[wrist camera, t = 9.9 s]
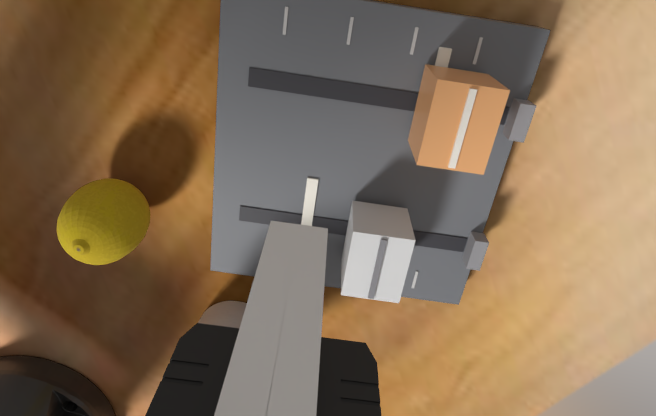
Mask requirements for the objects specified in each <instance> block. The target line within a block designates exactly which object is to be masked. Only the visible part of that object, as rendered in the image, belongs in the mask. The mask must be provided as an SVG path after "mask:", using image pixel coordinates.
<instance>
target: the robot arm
mask: <svg viewBox="0 0 656 416" xmlns="http://www.w3.org/2000/svg"><path fill="white" fill-rule="evenodd" d="M327 237H328V228H322V227H314V226H307V225H300V224H292V223H285V222H278V221H271V222H270V226H269V229H268V232H267V236H266V239H265V243H264V246H263V250H262V253H261V257H260V260H259V263H258V267H257V270H256V274H255V277H254V281H253V284H252V287H251V291H250V294H249V298H248V301H247V305H246V308H245V311H244V315H243V318H242V322H241V325H240V328H233V327H225V326H218V325H210V324H202V323H197V324H196V325H194V326H193V327H192V328H191V329H190V330H189V331H188V332H187V333H186V334H185V335H183V336H182V337H181V338H180V339H179V341H178V344H177V346H176V348H175V350H174V353H173V355H172V357H171V359H170V364H168V366H167V368H166V371H165V373H164V375H163V379H162V381H161V382H160V384H159V386H158V389H157V391H156V393H155V395H154V398H153V400H152V402H151V404H150V406H149V409H148V411H147V413H146V415H145V416H381V407H380V395H379V388H378V385H379V383H378V370H377V362H376V360H375V358H374V357H373V355H372V353H371V352H370V350H369V348H368V346H367V345H366V343H362V342H354V341H346V340H338V339H331V338H323V337H321V332H322V316H323V300H324V284H325V268H326V253H327ZM0 416H115V414H114V411H113V409H112V407H111V405H110V403H109V401H108V400H107V398H106V397H105V396H104V394H103V393H102V392H101V391H100V390H99V389H98V388H97V387H96V386H95V385H94V384H93V383H92V382H90V381H89V380H88V379H86V378H85V377H84V376H82V375H80V374H79V373H77V372H75V371H74V370H72V369H70V368H68V367H65V366H63V365H61V364H58V363H55V362H52V361H49V360H45V359H41V358H36V357H29V356H5V357H0Z"/></svg>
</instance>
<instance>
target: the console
mask: <svg viewBox="0 0 656 416" xmlns="http://www.w3.org/2000/svg"><path fill="white" fill-rule="evenodd" d="M549 33H550V30H548V29H544V28H541V27H537V26H531V25H524V24H518V23H512V22H506V21H499V20H493V19H487V18H480V17H474V16H468V15H462V14H455V13H449V12H443V11H436V10H430V9H424V8H417V7H411V6H405V5H399V4H392V3H386V2H380V1H373V0H221V6H220V32H219V58H218V85H217V111H216V137H215V164H214V190H213V216H212V243H211V269H210V270H211V271H219V272H226V273H233V274H241V275H248V276H255V274H256V270H257V267H258V263H259V260H260V257H261V253H262V250H263V246H264V243H265V239H266V236H267V232H268V229H269V226H270V222H271V221H278V222H285V223H292V224H300V225H307V226H314V227H322V228H328V237H327V253H326V268H325V284H324V286H328V287H335V288H341V259H342V253H343V248H344V243H345V237H346V232H347V226H348V221H349V216H350V210H351V205H352V201H359V202H366V203H373V204H380V205H387V206H394V207H401V208H407V209H408V213H409V217H410V221H411V224H412V228H413V232H414V236H415V240H416V241H415V245H414V248H413V252H412V256H411V260H410V264H409V267H408V271H407V275H406V279H405V283H404V286H403V290H402V294H401V297H408V298H415V299H422V300H429V301H437V302H444V303H451V304H458V305H459V302H460V299H461V296H462V293H463V290H464V287H465V284H466V281H467V278H468V275H469V272H470V269H472V270H479V271H480V268H481V265H482V262H483V259H484V256H485V253H486V250H487V247H488V244H489V242H488V240H487V238H486V236H485V234H484V233H483V231H484V228H485V225H486V222H487V219H488V216H489V213H490V210H491V207H492V204H493V201H494V198H495V195H496V192H497V189H498V186H499V183H500V180H501V177H502V174H503V171H504V168H505V165H506V162H507V159H508V156H509V153H510V150H511V147H512V144H513V141H517V142H524V140H525V137H526V134H527V132H528V129H529V126H530V123H531V120H532V117H533V114H534V111H535V108H536V105H534V104H533V103H532V102H530V101H529V100H527V99H528V96H529V93H530V90H531V87H532V84H533V81H534V78H535V75H536V72H537V69H538V66H539V63H540V60H541V57H542V54H543V51H544V48H545V45H546V42H547V39H548V36H549ZM425 64H427V65H434V66H440V67H447V68H453V69H460V70H466V71H473V72H479V73H486V74H489V75H490V76H492V77H493V78H494V79H496V80H497V81H498V82H500V83H501V84H502V85H504V86H505V87H506V88H508V89H509V90H510V93H509V96H508V99H507V102H506V106H505V109H504V112H503V115H502V118H501V121H500V125H499V128H498V131H497V134H496V137H495V140H494V144H493V147H492V150H491V153H490V156H489V159H488V163H487V166H486V169H485V172H484V175H481V174H474V173H467V172H461V171H454V170H447V169H440V168H433V167H427V166H420V165H416V162H415V159H414V156H413V153H412V151H411V148H410V145H409V142H408V137H409V133H410V128H411V124H412V120H413V115H414V111H415V107H416V102H417V98H418V93H419V89H420V85H421V80H422V76H423V72H424V67H425Z"/></svg>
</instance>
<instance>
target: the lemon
mask: <svg viewBox="0 0 656 416" xmlns="http://www.w3.org/2000/svg"><path fill="white" fill-rule="evenodd" d="M149 223H150V209H149V204H148V202H147V200H146V198H145V196H144V195H143V194H142V193H141V191H140V190H139V189H137V188H136V187H135V186H134V185H132V184H130V183H128V182H126V181H122V180H119V179H108V178H107V179H101V180H96V181H93V182H90V183H88V184H86V185H85V186H83V187H81V188H79V189H78V190H77V191H76V192H75V193H74V194H73V195H72V196H71V197H70V198H69V199H68V200H67V201H66V203H65V204H64V206H63V208H62V210H61V212H60V214H59V217H58V220H57V228H56V229H57V236H58V240H59V242H60V244H61V246H62V247H63V249H64V250H65V251H66V252H67V253H68V254H69V255H70V256H71V257H72V258H74V259H76V260H78V261H80V262H83V263H86V264H91V265H104V264H109V263H112V262H115V261H118V260H120V259H121V258H123V257H124V256H126V255H127V254H129V253H130V252H132V251H133V250H134V249H135V248H136V247H137V246H138V245H139V243H140V242H141V241H142V240H143V238H144V237H145V235H146V232H147V229H148V227H149Z"/></svg>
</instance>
